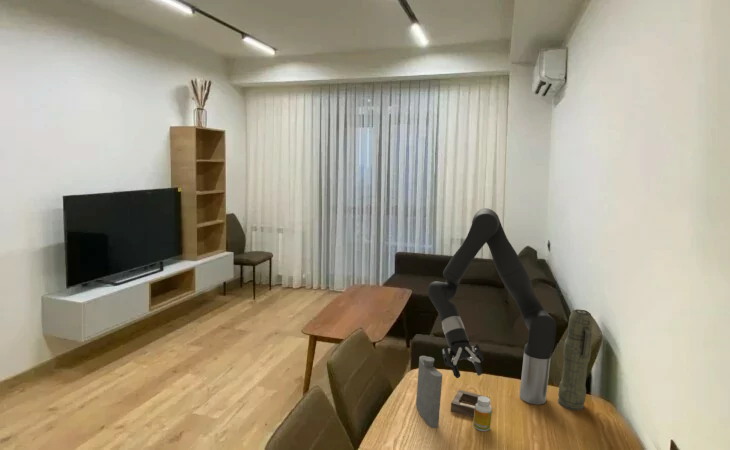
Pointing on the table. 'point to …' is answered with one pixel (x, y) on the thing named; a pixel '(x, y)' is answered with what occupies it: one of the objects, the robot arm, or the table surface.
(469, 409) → the socket block
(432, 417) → the hip flask
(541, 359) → the robot arm
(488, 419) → the supplement bottle
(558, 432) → the table surface
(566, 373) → the olive fabric bag
